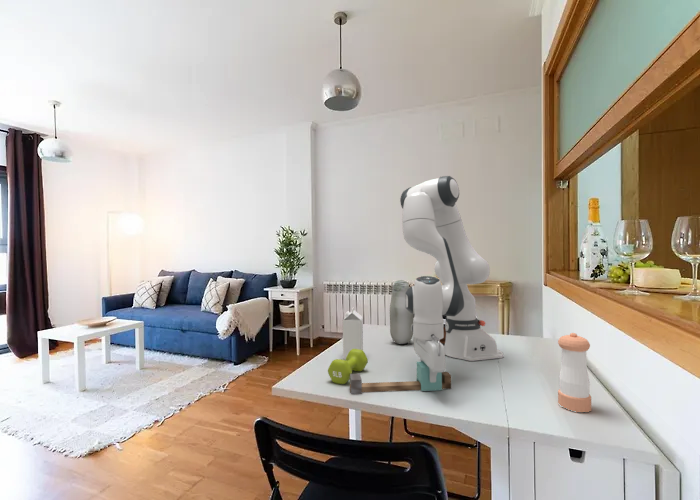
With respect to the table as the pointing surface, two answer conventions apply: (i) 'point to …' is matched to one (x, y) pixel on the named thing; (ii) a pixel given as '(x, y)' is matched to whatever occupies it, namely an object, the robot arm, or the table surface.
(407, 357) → the table surface
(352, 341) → the milk carton
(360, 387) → the rail
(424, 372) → the block
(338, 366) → the dumbbell
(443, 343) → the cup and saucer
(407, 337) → the glass bottle
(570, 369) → the pepper shaker
